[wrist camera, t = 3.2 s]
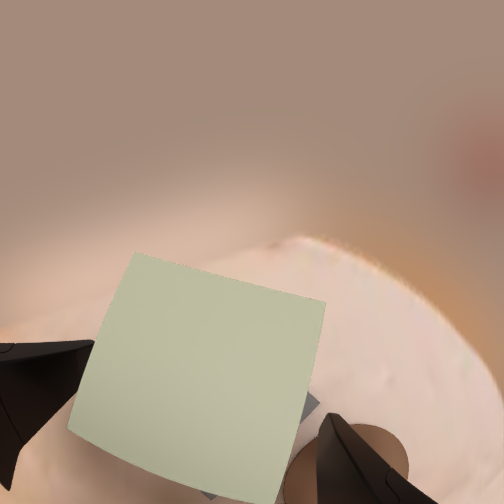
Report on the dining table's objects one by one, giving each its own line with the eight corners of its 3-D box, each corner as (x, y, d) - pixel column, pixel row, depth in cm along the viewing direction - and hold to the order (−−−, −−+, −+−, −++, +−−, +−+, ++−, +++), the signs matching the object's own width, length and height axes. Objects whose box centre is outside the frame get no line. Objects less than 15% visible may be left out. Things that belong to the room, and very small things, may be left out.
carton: (255, 447, 16) (273, 507, 5) (166, 420, 16) (66, 428, 6) (279, 363, 19) (326, 302, 8) (193, 339, 19) (134, 251, 9)
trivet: (344, 549, 11) (346, 552, 11) (255, 491, 14) (255, 493, 14) (424, 462, 15) (429, 463, 14) (348, 399, 18) (351, 399, 17)
